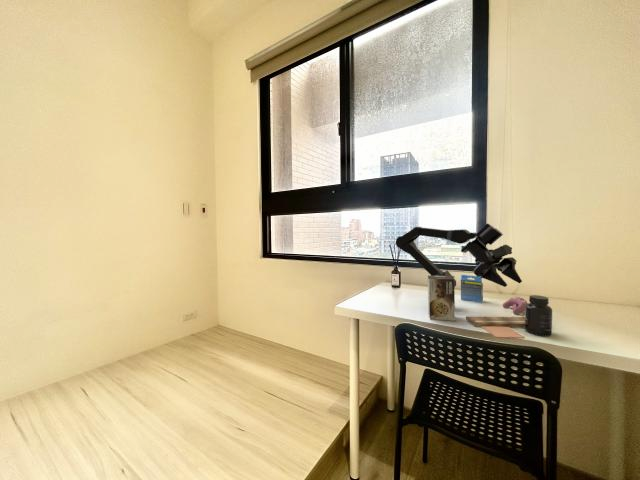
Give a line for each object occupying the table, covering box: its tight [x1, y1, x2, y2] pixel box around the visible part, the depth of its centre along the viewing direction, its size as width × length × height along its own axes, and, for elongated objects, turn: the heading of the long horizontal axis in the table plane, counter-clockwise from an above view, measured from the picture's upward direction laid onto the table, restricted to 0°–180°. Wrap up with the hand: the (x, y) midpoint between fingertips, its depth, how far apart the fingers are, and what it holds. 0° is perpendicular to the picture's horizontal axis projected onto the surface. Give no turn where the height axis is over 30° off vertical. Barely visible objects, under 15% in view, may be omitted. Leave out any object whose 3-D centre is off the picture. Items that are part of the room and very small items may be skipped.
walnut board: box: [465, 315, 525, 328], centre depth 94 cm, size 24×7×1 cm, turn 84°
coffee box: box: [427, 274, 456, 322], centre depth 101 cm, size 9×6×16 cm
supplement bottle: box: [524, 294, 553, 337], centre depth 85 cm, size 7×7×12 cm
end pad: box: [482, 326, 526, 339], centre depth 86 cm, size 9×9×1 cm
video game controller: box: [502, 296, 529, 315], centre depth 107 cm, size 10×5×7 cm, turn 169°
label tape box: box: [460, 274, 484, 304], centre depth 122 cm, size 9×4×12 cm, turn 49°
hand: (513, 284), depth 93 cm, fingers open, 9 cm apart
